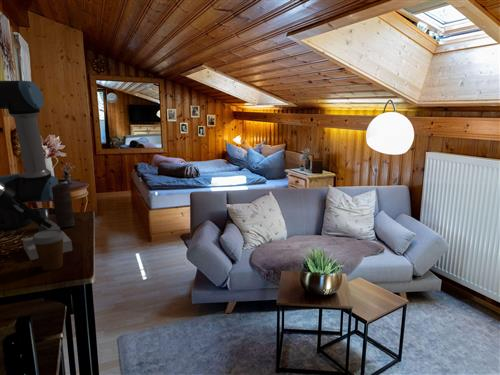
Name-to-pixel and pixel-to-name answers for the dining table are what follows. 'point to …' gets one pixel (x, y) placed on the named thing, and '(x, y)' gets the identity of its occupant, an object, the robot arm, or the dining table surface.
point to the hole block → (32, 251)
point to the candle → (63, 205)
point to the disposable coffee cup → (49, 248)
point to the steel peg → (43, 216)
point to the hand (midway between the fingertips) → (56, 229)
